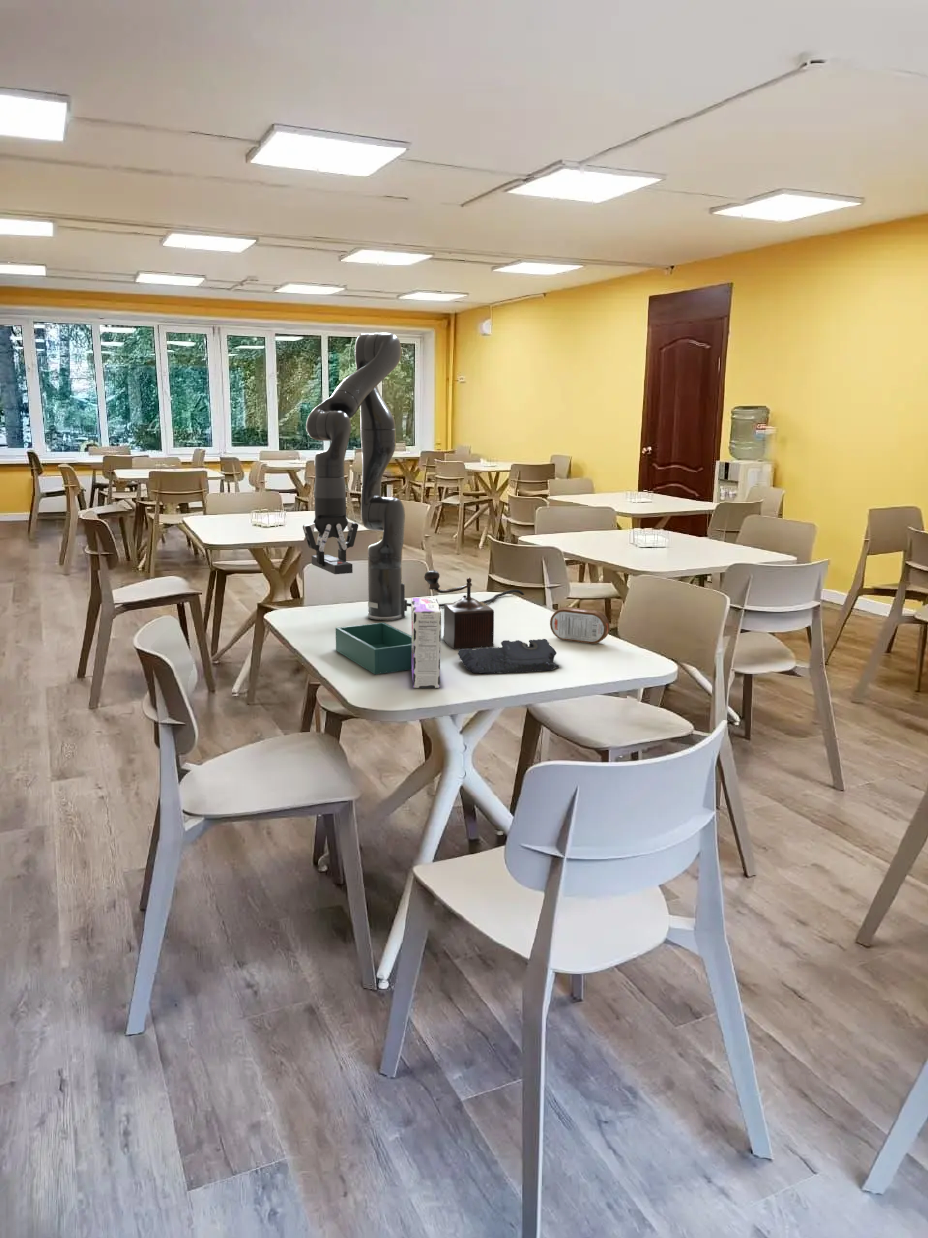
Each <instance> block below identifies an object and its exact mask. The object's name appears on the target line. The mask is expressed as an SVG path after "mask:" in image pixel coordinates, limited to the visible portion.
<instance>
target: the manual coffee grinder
mask: <svg viewBox="0 0 928 1238" xmlns="http://www.w3.org/2000/svg"><path fill="white" fill-rule="evenodd" d="M440 578H441V577H440V573H439V571H437V570H436V569H430V570H427V571H426V572H425V573H424V577H423V579H424V580H425V581H426V582H427V584H428V585H429V586H428V589H429V590H431V591H432V590H433V591H434V592H435V593H437V594H449V593H454V592H458V591H459V592H460V591H463V590H465V589H466V594H465V595H463V596H462V598H461V599H459V600H457V601H454V602H445V603H443V604H444V607H443V636H442V638H443V640H444V642H445V643H446V645H448V647H450V648H451V649H453V650H460V649H480V648H489V647H493V648H494V645H495V644H494V641H495V640H494V637H495V635H494V633H495V630H494V629H495V611H494V609H493V608H492V607H490V606H489V605H487V603H483V602H481V601H479V600H477V599H476V598H474V597H472V596H471V590H472V589H471V587H472V586H473V584H472V578H471V577H467V578H466V583H465V584H464V585H462V586H457V587H452V588H447V589H446V588H445V589H440V587H441V585H440V584H439V579H440Z"/></svg>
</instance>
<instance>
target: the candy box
mask: <svg viewBox="0 0 928 1238" xmlns="http://www.w3.org/2000/svg"><path fill="white" fill-rule="evenodd" d="M410 604H411V608H410V610H411V611H410V613H411V617H410V618H411V619H410V620H411V636H412V663H411V665H412V668H411V669H410V672H411V677H412V678H411V679H412V687H413V689H440V688H441V642H442V641H441V640H442V638H441V637H442V610H441V609H440V608H441V607H439V604H440V603H439V601H438V597H412V598H411V601H410Z"/></svg>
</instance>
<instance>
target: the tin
mask: <svg viewBox="0 0 928 1238" xmlns="http://www.w3.org/2000/svg"><path fill="white" fill-rule="evenodd" d="M549 626H550V630H551V633H552V634H553V636H555V637H556V638H557V639H559V640H562V641H567V642H575V643H583V644H590V645H595V644H599V643H600V642H602V641H603V640H605V639H606V638H607V637H608V635H609V633H610V629H611V628H610V627H611V626H610V621H609V619H608V617H607V616H606V615H605V614H604V613H603V612H601V611H599V610H597V609H588V608H580V607H572V606H563V607H562V606H561V607H560V608H557V610H555V612H554V613H553V614H552V615H551V617H550V620H549Z"/></svg>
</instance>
